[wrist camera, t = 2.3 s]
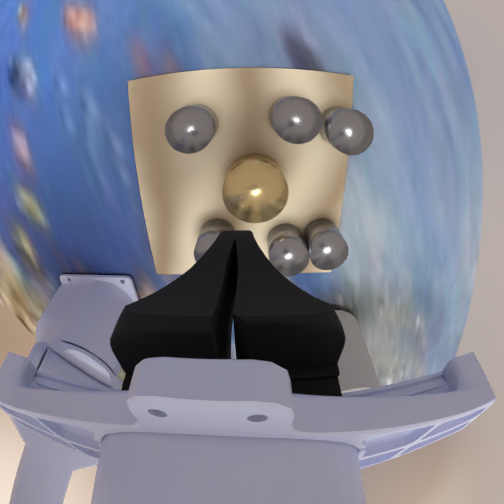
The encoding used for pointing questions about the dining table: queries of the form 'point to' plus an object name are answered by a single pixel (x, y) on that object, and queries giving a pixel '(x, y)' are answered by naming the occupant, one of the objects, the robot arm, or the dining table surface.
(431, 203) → the dining table surface
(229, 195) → the gold dome
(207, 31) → the dining table surface
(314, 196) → the board
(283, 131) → the metal pegs
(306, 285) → the dining table surface
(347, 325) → the can
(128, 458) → the robot arm
